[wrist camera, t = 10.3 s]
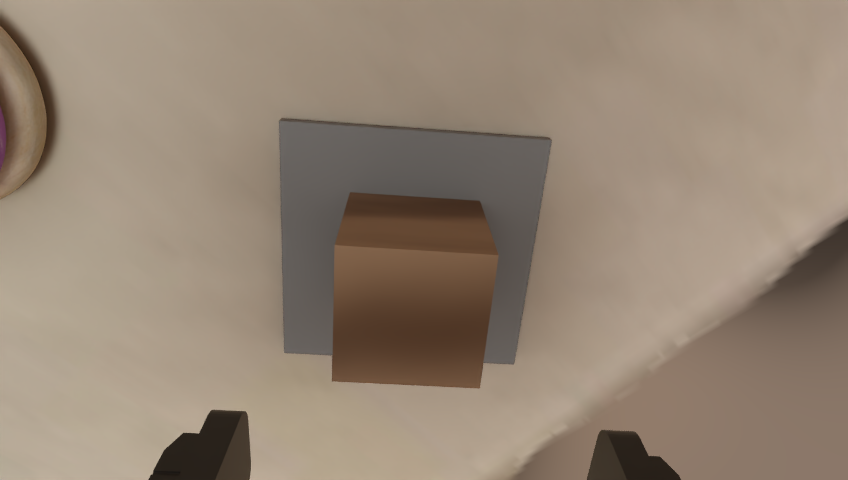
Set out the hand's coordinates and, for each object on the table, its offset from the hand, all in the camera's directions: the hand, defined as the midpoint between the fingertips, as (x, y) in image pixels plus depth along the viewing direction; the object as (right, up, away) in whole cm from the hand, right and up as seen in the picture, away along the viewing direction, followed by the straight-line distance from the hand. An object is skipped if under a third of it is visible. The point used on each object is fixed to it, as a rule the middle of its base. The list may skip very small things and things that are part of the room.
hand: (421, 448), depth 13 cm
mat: (-1, +4, +10) cm, 11 cm away
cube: (0, +4, +10) cm, 11 cm away
